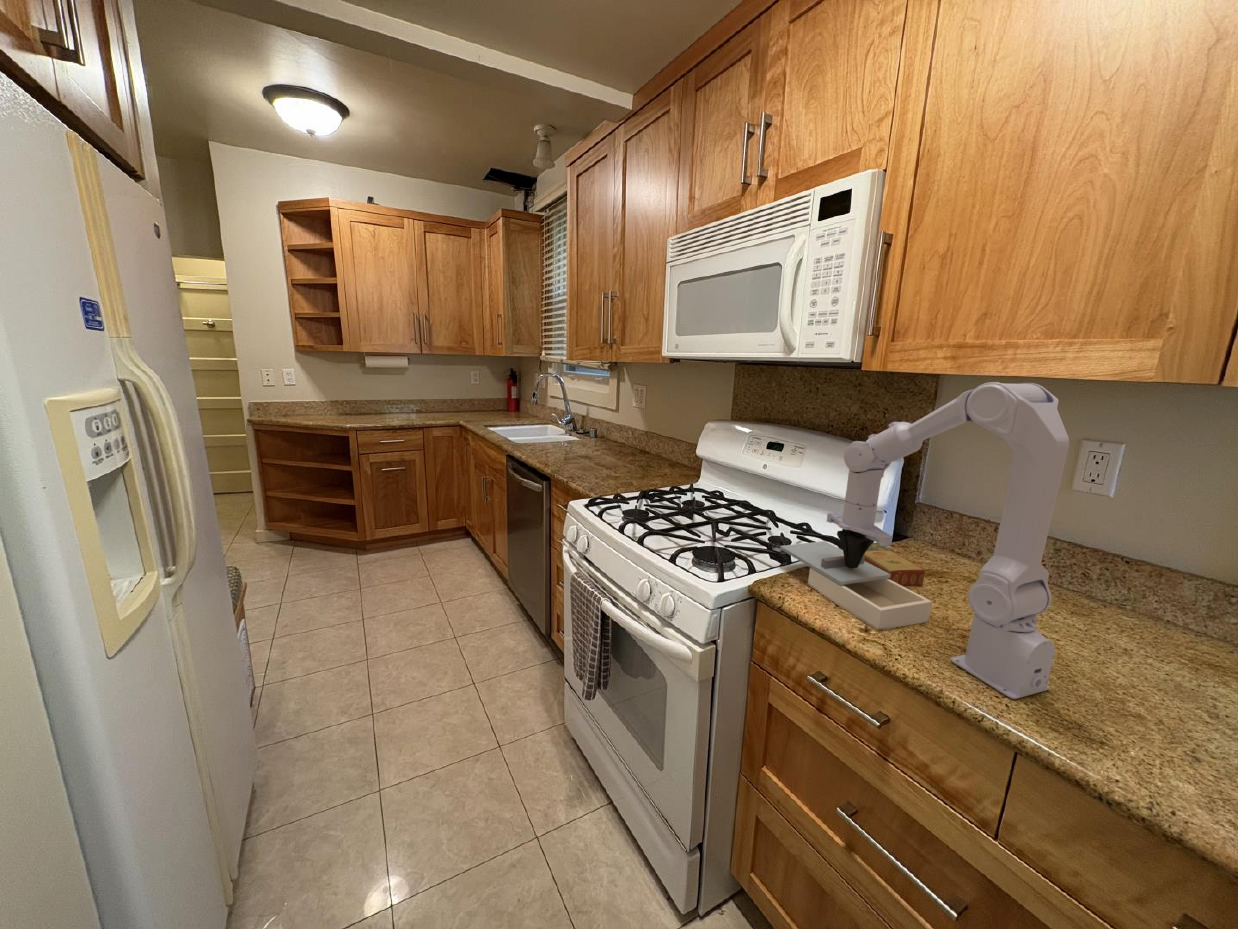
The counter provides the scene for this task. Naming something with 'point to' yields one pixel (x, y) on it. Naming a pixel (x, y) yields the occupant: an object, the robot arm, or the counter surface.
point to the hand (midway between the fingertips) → (851, 566)
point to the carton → (895, 565)
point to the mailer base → (875, 601)
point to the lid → (833, 563)
